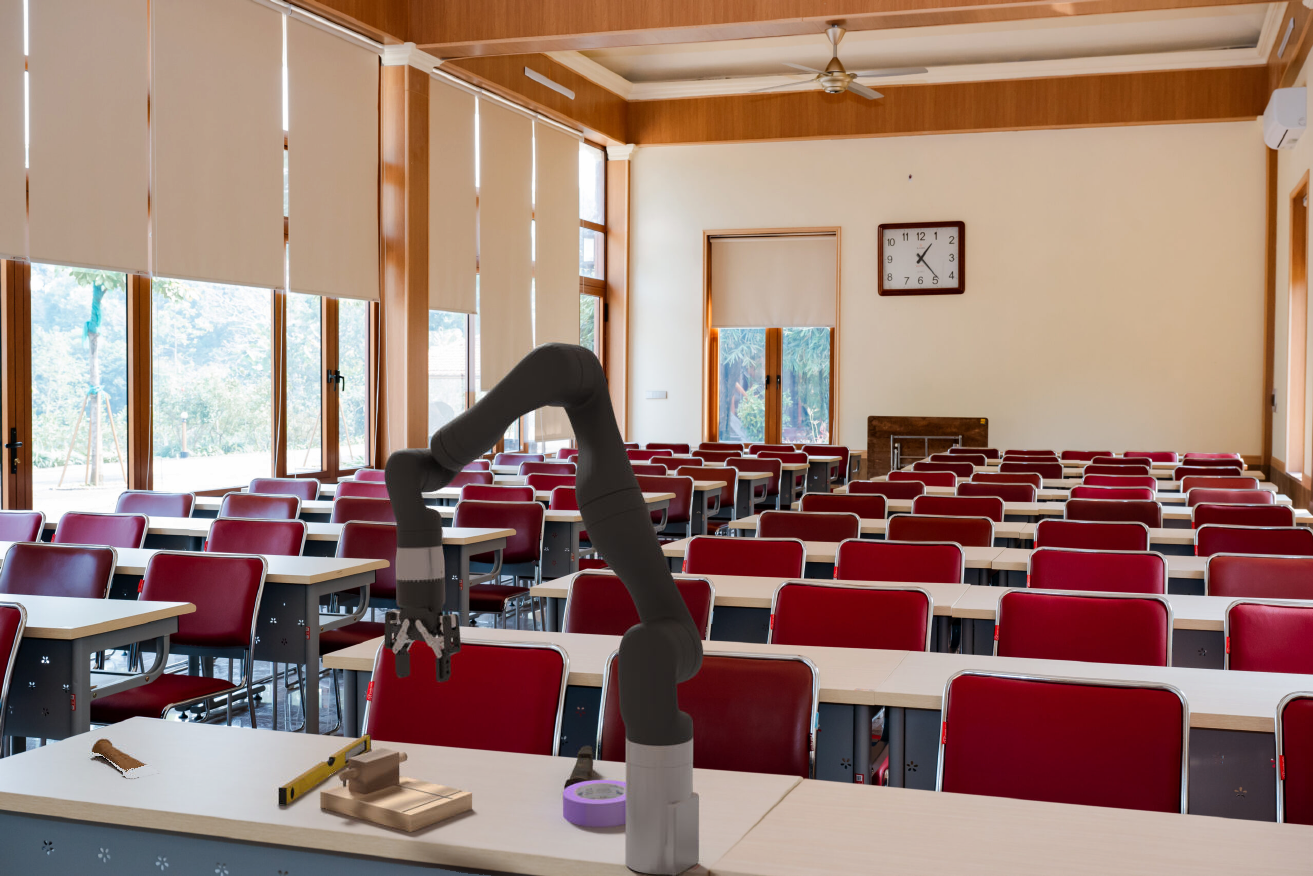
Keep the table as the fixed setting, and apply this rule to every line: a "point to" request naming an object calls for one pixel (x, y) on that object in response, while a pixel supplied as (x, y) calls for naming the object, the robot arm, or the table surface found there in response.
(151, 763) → the table surface
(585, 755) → the hand tool
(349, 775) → the tan peg block
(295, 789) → the spirit level
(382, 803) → the oak board
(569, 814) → the masking tape
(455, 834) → the table surface
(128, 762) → the primitive tool
